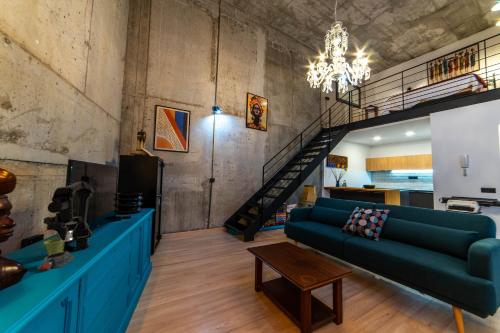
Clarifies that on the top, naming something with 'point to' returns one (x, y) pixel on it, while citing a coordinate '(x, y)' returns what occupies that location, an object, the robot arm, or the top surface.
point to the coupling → (68, 236)
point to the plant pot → (54, 246)
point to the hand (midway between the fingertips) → (66, 238)
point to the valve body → (55, 260)
